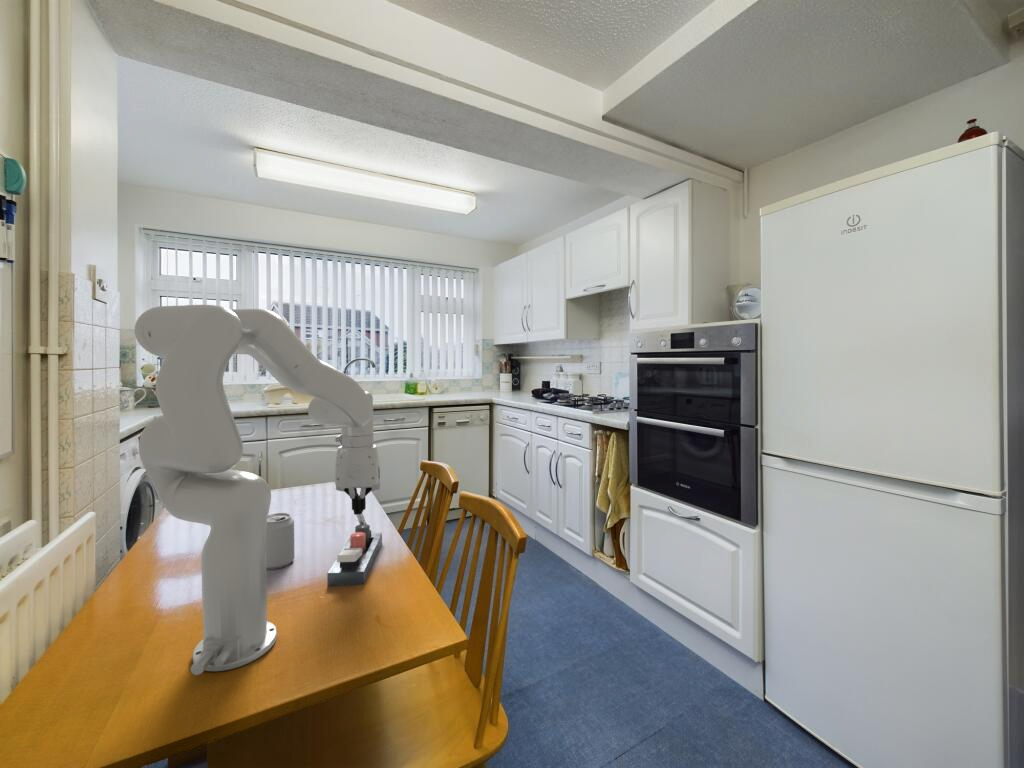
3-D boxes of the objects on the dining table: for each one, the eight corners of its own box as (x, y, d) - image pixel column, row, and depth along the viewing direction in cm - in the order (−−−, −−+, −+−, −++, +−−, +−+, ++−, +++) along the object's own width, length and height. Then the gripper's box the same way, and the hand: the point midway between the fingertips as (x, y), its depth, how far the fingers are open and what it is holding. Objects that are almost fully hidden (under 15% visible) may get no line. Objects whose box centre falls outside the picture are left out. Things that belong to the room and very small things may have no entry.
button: (363, 555, 108) (363, 537, 108) (348, 555, 108) (348, 538, 107) (366, 549, 112) (366, 531, 111) (352, 549, 111) (352, 532, 111)
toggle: (368, 530, 117) (359, 506, 117) (360, 533, 117) (351, 509, 117) (370, 527, 120) (361, 503, 119) (362, 530, 119) (353, 506, 119)
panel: (364, 584, 99) (363, 567, 99) (327, 585, 98) (327, 568, 98) (382, 543, 121) (382, 529, 120) (352, 544, 120) (352, 530, 120)
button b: (368, 546, 113) (368, 529, 113) (353, 546, 113) (353, 529, 112) (371, 540, 117) (370, 523, 116) (357, 540, 116) (357, 524, 116)
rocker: (355, 561, 99) (355, 554, 99) (336, 562, 98) (337, 554, 99) (362, 554, 106) (362, 547, 106) (345, 555, 105) (345, 548, 105)
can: (280, 572, 104) (279, 523, 103) (253, 568, 105) (252, 520, 105) (301, 558, 111) (300, 512, 110) (275, 555, 113) (274, 509, 112)
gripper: (321, 444, 103) (323, 519, 105) (385, 443, 105) (386, 517, 107) (331, 438, 111) (332, 508, 112) (390, 437, 113) (391, 506, 114)
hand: (358, 512), depth 109 cm, fingers closed
